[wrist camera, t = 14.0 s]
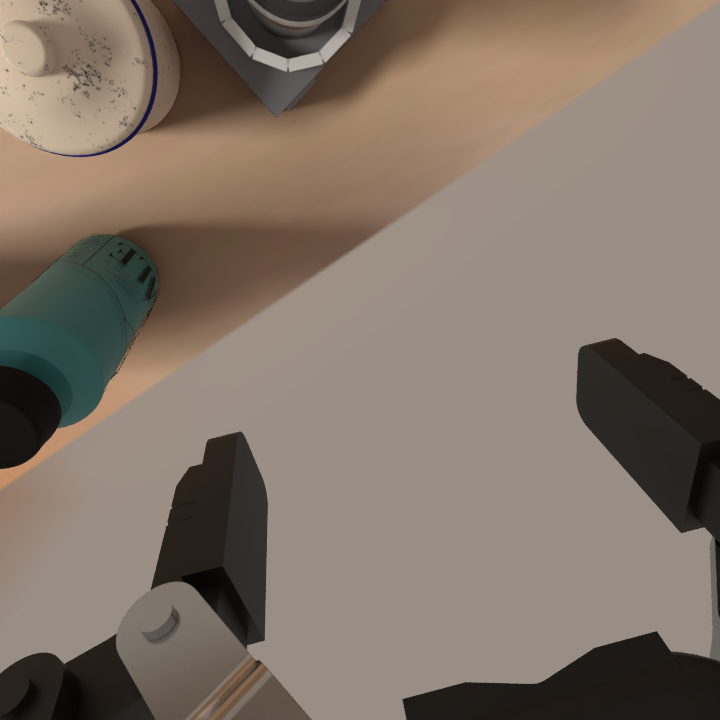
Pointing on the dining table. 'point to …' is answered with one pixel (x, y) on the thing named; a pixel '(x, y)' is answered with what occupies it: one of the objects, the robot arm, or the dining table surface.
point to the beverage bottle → (69, 339)
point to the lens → (292, 15)
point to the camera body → (274, 46)
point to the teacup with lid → (84, 72)
